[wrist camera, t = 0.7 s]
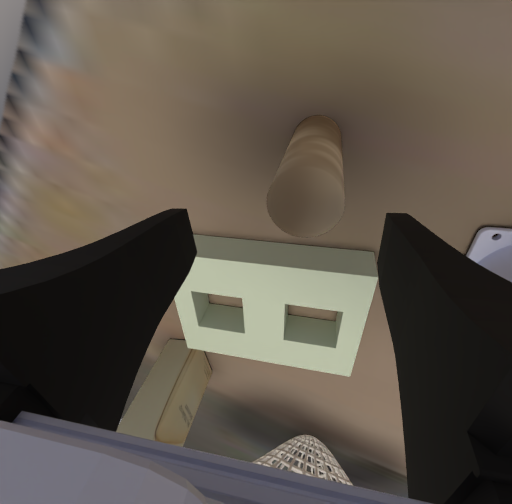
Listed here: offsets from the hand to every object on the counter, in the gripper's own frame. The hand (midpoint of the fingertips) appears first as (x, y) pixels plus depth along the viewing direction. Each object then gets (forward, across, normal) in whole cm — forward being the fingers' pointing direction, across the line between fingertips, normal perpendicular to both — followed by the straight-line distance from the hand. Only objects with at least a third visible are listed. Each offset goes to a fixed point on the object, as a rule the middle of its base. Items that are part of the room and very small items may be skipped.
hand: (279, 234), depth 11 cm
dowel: (+10, -1, -1) cm, 10 cm away
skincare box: (+11, +14, +25) cm, 30 cm away
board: (+10, +3, +13) cm, 17 cm away
